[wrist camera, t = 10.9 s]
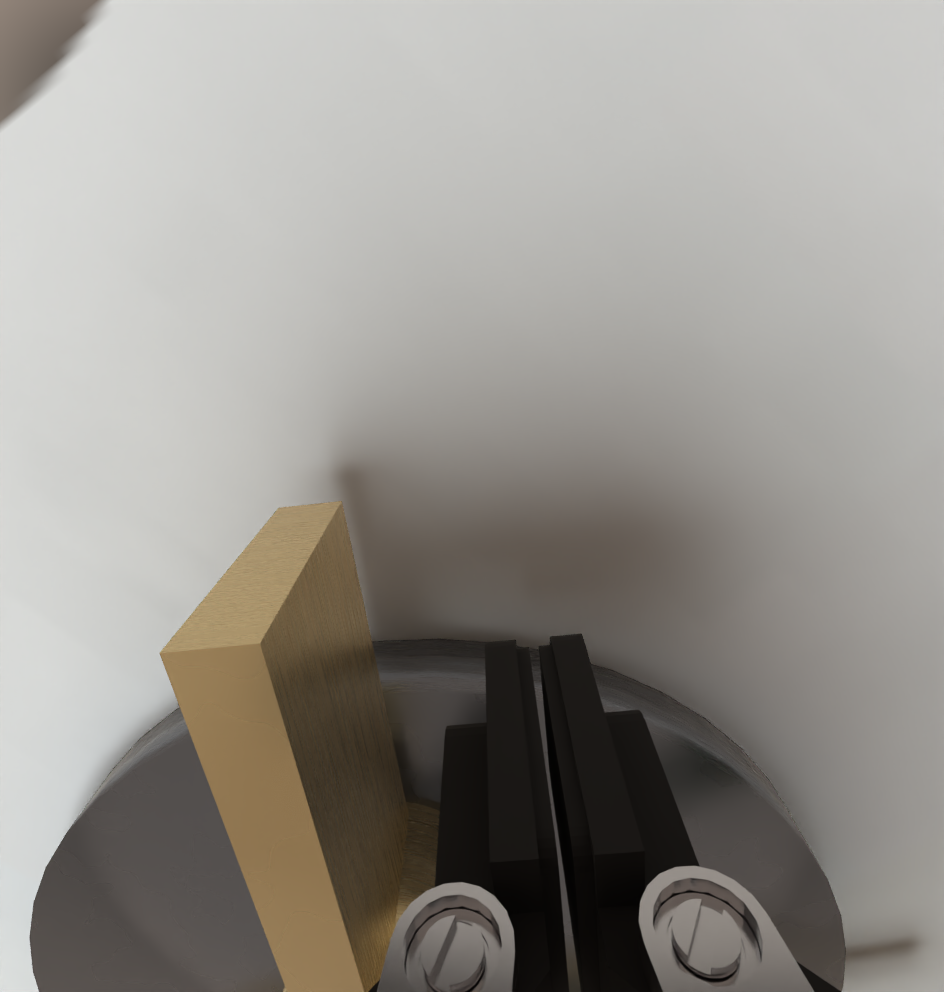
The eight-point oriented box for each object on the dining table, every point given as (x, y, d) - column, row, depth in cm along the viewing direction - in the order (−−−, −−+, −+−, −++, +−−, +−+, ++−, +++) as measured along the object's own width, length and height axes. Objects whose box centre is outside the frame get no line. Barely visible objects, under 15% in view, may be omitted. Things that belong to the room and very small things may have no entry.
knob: (485, 905, 15) (490, 1203, 11) (338, 916, 16) (275, 1214, 11) (418, 485, 11) (371, 658, 6) (214, 507, 11) (12, 692, 6)
